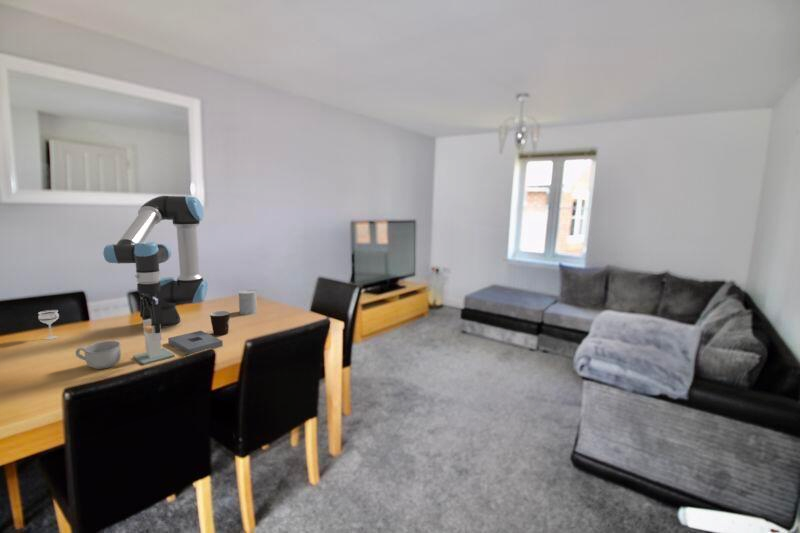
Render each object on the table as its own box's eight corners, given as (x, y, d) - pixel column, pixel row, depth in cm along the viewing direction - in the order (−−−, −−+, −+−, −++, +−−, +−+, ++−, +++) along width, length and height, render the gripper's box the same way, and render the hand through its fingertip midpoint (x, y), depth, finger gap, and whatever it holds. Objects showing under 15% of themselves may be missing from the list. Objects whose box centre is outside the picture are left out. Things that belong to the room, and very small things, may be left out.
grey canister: (260, 312, 219) (260, 291, 217) (246, 315, 211) (245, 294, 209) (250, 309, 224) (249, 289, 222) (235, 312, 216) (235, 291, 214)
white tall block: (146, 355, 151) (144, 326, 149) (157, 352, 154) (155, 324, 152) (150, 357, 149) (148, 328, 147) (161, 355, 152) (159, 326, 150)
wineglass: (65, 336, 171) (62, 310, 169) (47, 341, 164) (44, 314, 163) (54, 334, 173) (51, 309, 171) (36, 339, 166) (33, 313, 164)
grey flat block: (168, 343, 167) (168, 338, 166) (200, 335, 178) (200, 330, 177) (189, 355, 155) (188, 349, 154) (222, 346, 166) (222, 340, 165)
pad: (133, 357, 150) (132, 355, 150) (163, 349, 159) (163, 348, 159) (143, 365, 144) (143, 363, 144) (174, 356, 153) (174, 354, 152)
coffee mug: (222, 337, 176) (222, 316, 175) (206, 335, 178) (205, 315, 177) (238, 329, 188) (237, 310, 186) (222, 328, 189) (222, 308, 188)
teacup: (128, 360, 148) (127, 340, 147) (108, 372, 137) (106, 351, 136) (92, 359, 147) (90, 340, 146) (68, 371, 137) (66, 350, 135)
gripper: (127, 279, 150) (131, 334, 154) (148, 287, 137) (152, 346, 141) (148, 277, 156) (152, 329, 160) (170, 284, 143) (174, 341, 147)
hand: (152, 337), depth 150 cm, fingers open, 8 cm apart
